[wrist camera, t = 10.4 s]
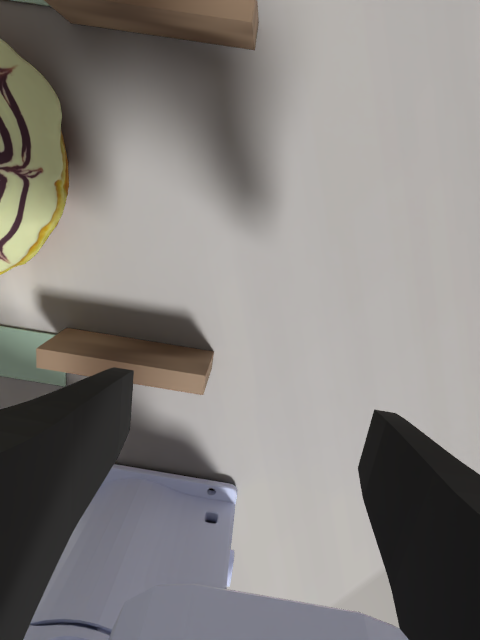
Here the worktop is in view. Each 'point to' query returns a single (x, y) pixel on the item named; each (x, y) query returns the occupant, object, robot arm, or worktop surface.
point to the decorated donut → (28, 160)
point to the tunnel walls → (174, 22)
